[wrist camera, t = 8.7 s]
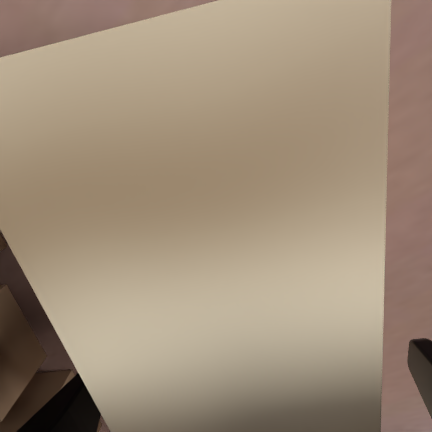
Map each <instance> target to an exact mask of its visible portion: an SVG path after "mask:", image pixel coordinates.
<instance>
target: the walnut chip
mask: <svg viewBox="0 0 432 432" xmlns="http://www.w3.org/2000/svg"><path fill="white" fill-rule="evenodd" d="M6 247H7V245H6V243H5V241H4V239H3V237H2V235H1V234H0V251H1V250H3V249H4V248H6Z"/></svg>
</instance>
